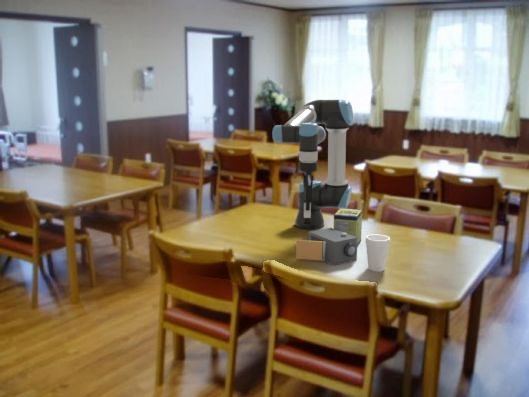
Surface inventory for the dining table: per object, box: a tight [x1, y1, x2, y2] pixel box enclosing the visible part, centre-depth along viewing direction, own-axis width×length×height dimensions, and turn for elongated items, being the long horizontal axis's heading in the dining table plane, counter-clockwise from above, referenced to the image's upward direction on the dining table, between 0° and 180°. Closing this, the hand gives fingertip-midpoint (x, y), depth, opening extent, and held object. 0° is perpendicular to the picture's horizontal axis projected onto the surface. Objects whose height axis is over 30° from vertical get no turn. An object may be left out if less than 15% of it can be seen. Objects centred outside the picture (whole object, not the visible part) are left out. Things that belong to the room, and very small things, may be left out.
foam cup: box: [365, 233, 391, 272], centre depth 215 cm, size 10×9×13 cm
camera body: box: [307, 227, 358, 266], centre depth 229 cm, size 12×20×11 cm, turn 32°
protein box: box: [333, 207, 363, 248], centre depth 246 cm, size 10×16×16 cm
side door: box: [295, 239, 326, 262], centre depth 224 cm, size 1×12×8 cm, turn 77°
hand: (307, 217), depth 225 cm, fingers closed
